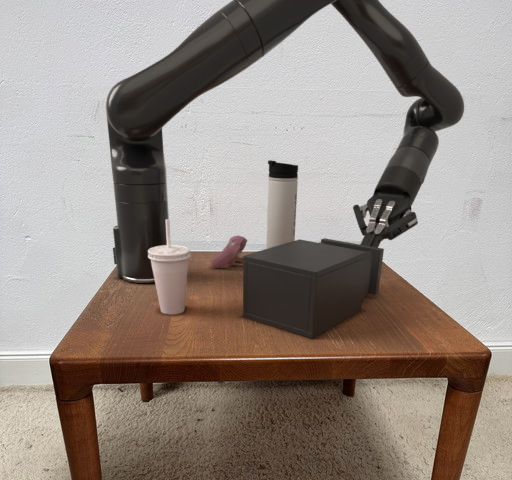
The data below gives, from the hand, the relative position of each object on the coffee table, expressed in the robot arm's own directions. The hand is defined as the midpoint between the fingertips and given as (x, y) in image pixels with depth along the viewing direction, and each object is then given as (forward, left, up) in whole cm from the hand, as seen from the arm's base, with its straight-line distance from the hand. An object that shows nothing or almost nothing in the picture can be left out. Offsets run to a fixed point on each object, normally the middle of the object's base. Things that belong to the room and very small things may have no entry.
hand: (365, 253), depth 89 cm
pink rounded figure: (-28, +6, -6) cm, 29 cm away
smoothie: (-28, -23, -6) cm, 37 cm away
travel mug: (-20, +17, -6) cm, 26 cm away
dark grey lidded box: (-8, -18, -6) cm, 21 cm away
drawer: (-4, -9, -5) cm, 11 cm away
